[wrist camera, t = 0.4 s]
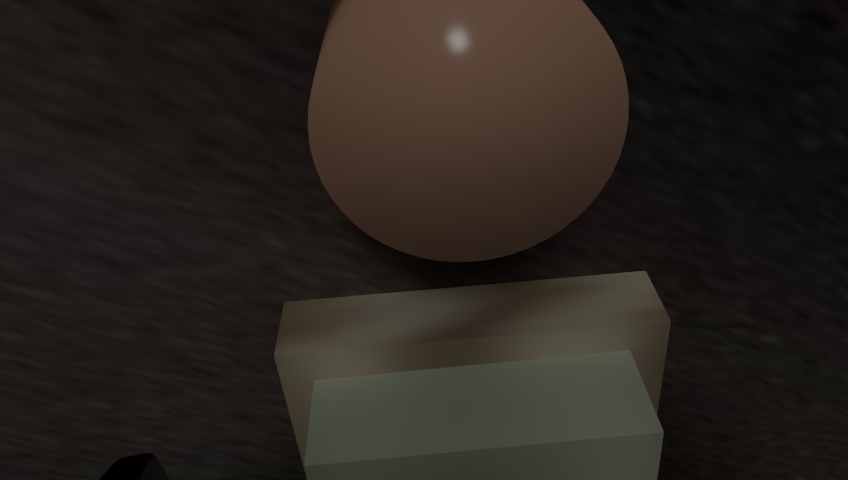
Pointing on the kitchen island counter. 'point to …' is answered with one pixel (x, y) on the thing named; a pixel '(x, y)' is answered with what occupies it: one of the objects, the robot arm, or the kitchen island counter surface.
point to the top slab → (488, 423)
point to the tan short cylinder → (465, 121)
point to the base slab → (468, 331)
